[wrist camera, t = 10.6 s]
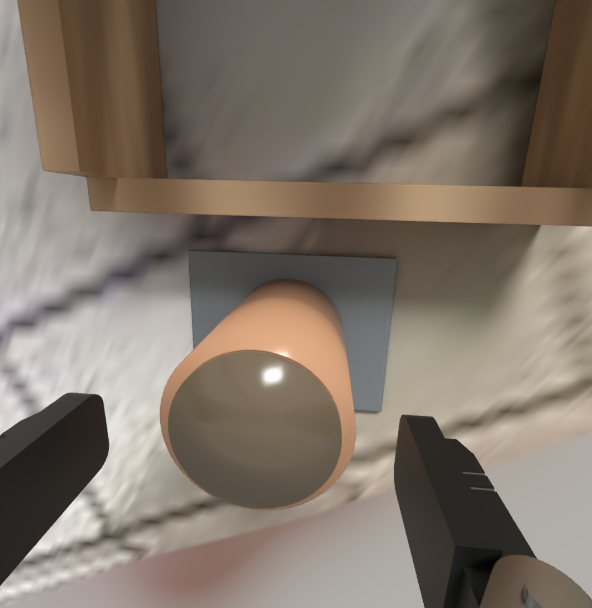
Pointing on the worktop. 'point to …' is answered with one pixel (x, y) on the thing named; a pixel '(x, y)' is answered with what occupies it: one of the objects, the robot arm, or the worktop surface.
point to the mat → (322, 274)
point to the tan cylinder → (265, 401)
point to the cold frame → (276, 194)
